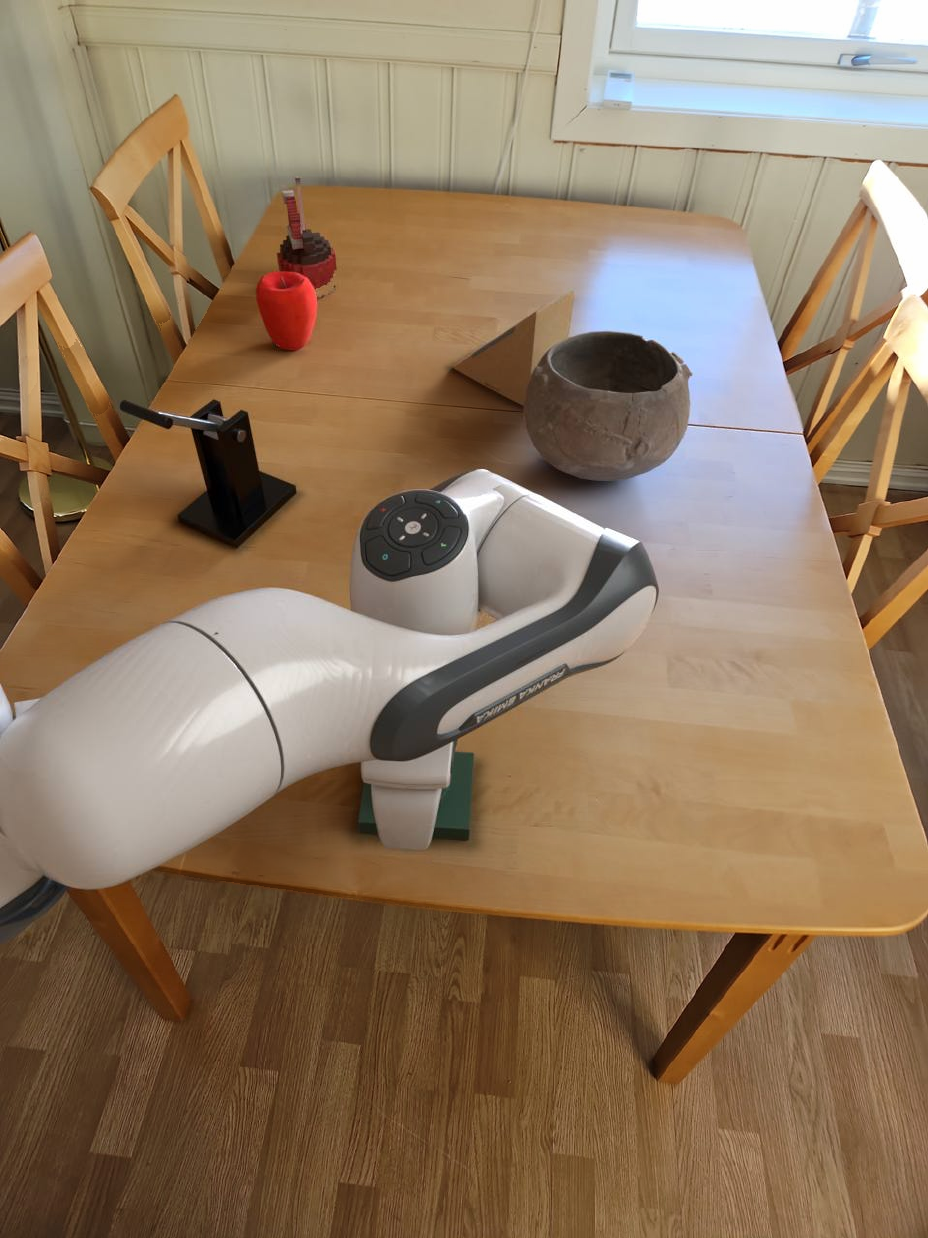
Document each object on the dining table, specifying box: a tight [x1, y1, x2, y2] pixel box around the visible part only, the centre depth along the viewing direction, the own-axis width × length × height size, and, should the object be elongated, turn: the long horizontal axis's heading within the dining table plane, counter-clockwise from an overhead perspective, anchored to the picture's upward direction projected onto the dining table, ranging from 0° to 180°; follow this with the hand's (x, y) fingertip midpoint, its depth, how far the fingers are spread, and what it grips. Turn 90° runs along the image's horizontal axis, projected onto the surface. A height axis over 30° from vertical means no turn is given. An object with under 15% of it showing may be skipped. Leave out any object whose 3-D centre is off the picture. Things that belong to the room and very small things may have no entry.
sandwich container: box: [452, 290, 576, 407], centre depth 119 cm, size 9×15×15 cm, turn 47°
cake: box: [276, 175, 339, 298], centre depth 134 cm, size 11×9×18 cm
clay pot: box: [523, 330, 693, 482], centre depth 107 cm, size 21×21×15 cm
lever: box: [119, 399, 229, 440], centre depth 89 cm, size 14×6×2 cm
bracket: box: [176, 398, 298, 549], centre depth 98 cm, size 12×9×14 cm
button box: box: [357, 751, 475, 842], centre depth 76 cm, size 10×8×4 cm
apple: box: [255, 270, 318, 351], centre depth 125 cm, size 9×9×11 cm
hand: (418, 773), depth 74 cm, fingers closed, pressing on button
